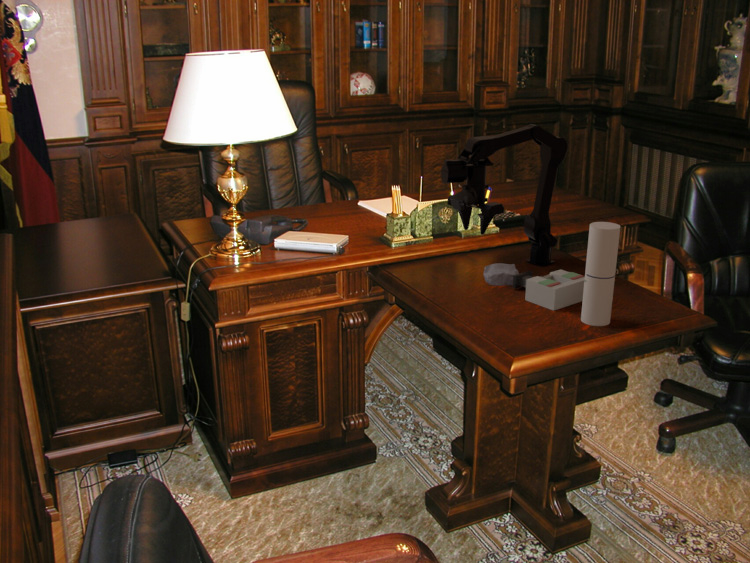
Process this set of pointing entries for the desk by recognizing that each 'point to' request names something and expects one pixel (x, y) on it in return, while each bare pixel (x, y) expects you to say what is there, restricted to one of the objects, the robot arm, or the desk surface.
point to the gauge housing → (555, 290)
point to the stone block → (500, 274)
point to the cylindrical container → (600, 273)
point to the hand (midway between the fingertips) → (474, 232)
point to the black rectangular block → (525, 278)
